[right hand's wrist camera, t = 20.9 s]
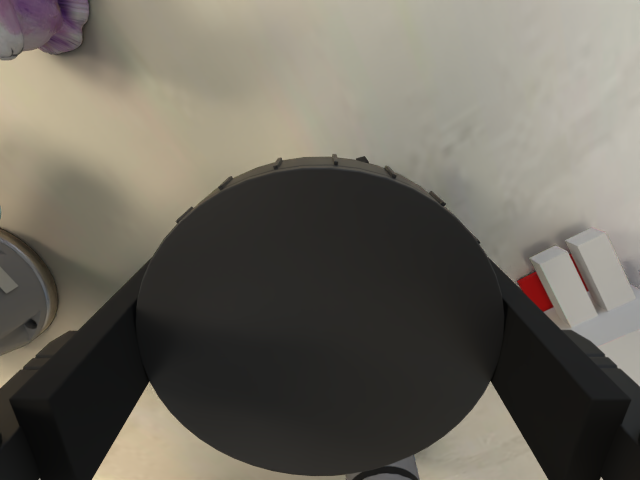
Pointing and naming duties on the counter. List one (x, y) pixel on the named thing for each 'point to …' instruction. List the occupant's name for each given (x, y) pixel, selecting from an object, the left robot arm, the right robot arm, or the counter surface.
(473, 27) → the counter surface
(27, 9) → the figurine
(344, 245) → the lid
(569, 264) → the toy
